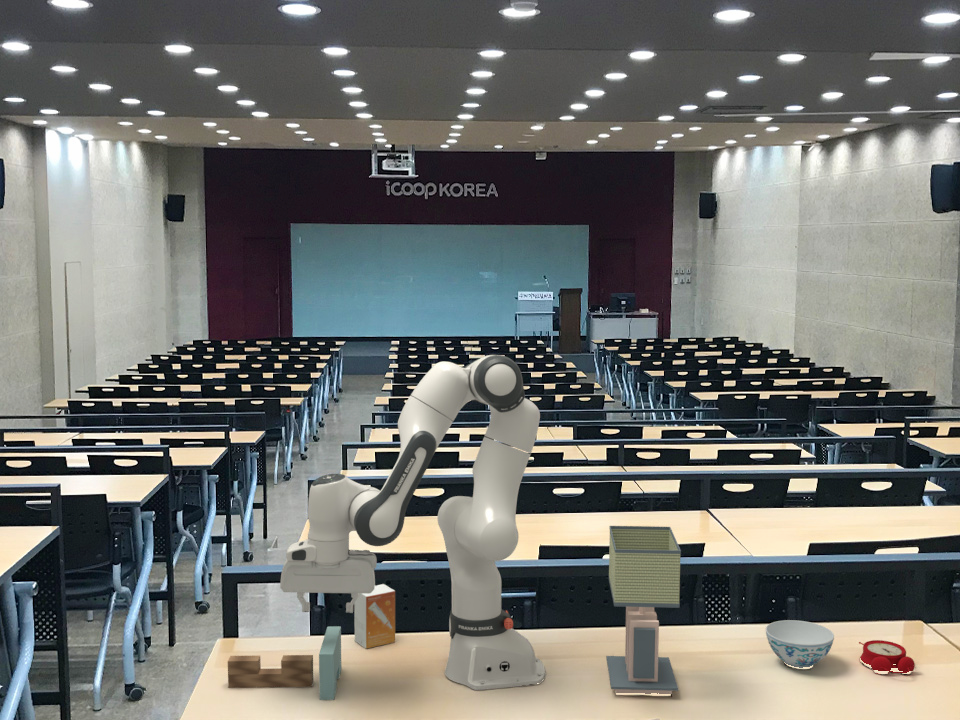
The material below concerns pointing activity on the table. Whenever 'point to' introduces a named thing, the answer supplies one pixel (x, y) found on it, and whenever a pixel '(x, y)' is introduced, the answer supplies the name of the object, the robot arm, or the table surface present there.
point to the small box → (375, 617)
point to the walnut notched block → (270, 672)
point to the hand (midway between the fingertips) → (327, 611)
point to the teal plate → (330, 663)
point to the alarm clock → (886, 656)
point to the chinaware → (799, 642)
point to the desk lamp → (643, 604)
